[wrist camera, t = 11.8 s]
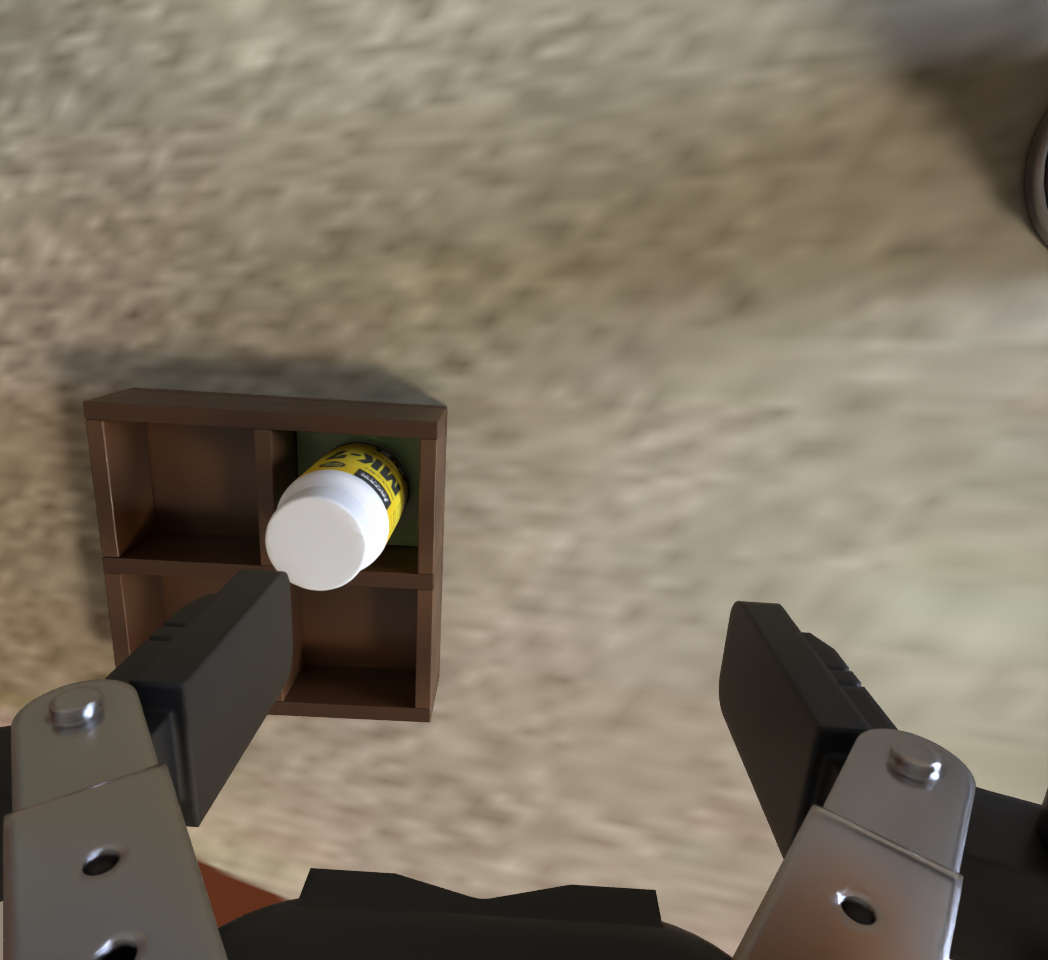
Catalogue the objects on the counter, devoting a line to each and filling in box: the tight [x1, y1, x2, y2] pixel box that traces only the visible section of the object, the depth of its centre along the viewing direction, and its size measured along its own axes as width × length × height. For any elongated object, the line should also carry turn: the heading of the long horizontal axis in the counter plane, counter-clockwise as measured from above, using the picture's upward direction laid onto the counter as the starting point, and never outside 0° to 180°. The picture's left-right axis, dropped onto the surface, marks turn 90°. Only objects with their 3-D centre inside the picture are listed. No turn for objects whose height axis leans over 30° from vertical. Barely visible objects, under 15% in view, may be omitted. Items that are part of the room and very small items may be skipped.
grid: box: [83, 388, 447, 722], centre depth 34 cm, size 16×16×4 cm
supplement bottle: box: [265, 441, 410, 591], centre depth 30 cm, size 5×5×8 cm
